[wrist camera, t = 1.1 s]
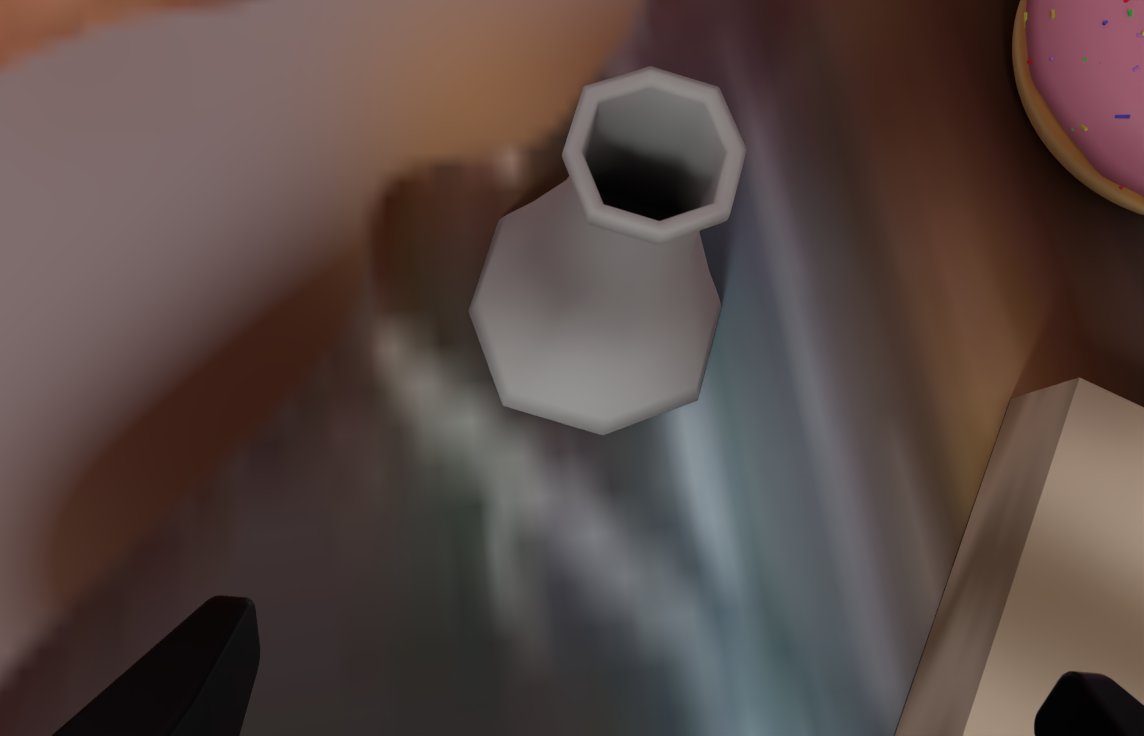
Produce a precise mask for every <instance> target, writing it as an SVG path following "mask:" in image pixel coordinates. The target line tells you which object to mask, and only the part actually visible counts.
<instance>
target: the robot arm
mask: <svg viewBox="0 0 1144 736" xmlns="http://www.w3.org/2000/svg"><path fill="white" fill-rule="evenodd" d="M259 660H260V643H259V634H258V626H257V617H256V609H255V605H254V603H253V601H252V600H251V599H249V598H246V597H235V596H224V595H217V596H214V597H211V598H210V599H208V600H207V601H205V602H204V603H203V604H202V605H201V606H200V607H199V608H197V609H196V610H195V611H194V612H193V613H192V614H191V615H189V616H188V617H187V618H186V619H185V620H184V621H182V622H181V623H180V624H179V625H178V626H177V627H176V628H174V629H173V630H172V631H171V632H170V633H169V634H167V635H166V636H165V637H164V638H163V639H162V640H161V641H159V642H158V643H157V644H156V645H155V646H154V647H153V648H151V649H150V650H149V651H148V652H147V653H146V654H144V655H143V656H142V657H141V658H140V659H139V660H138V661H136V662H135V663H134V664H133V665H132V666H131V667H129V668H128V669H127V670H126V671H125V672H124V673H123V674H121V675H120V676H119V677H118V678H117V679H116V680H115V681H113V682H112V683H111V684H110V685H109V686H108V687H106V688H105V689H104V690H103V691H102V692H101V693H100V694H98V695H97V696H96V697H95V698H94V699H93V700H92V701H90V702H89V703H88V704H87V705H86V706H85V707H83V708H82V709H81V710H80V711H79V712H78V713H77V714H75V715H74V716H73V717H72V718H71V719H70V720H68V721H67V722H66V723H65V724H64V725H63V726H62V727H60V728H59V729H58V730H57V731H56V732H55V733H54V734H52V735H51V736H239V735H240V731H241V728H242V724H243V720H244V717H245V713H246V710H247V706H248V703H249V699H250V696H251V692H252V688H253V685H254V681H255V678H256V674H257V670H258V666H259ZM1034 734H1035V736H1144V705H1143V704H1142V703H1141V702H1139V701H1138V700H1137V699H1136V698H1135V697H1133V696H1132V695H1131V694H1130V693H1128V692H1127V691H1126V690H1125V689H1124V688H1122V687H1121V686H1120V685H1119V684H1118V683H1116V682H1115V681H1114V680H1112V679H1111V678H1110V677H1108V676H1106V675H1103V674H1099V673H1091V672H1080V671H1068V672H1066V673H1064V674H1063V675H1062V676H1061V677H1060V678H1059V680H1058V681H1057V683H1056V684H1055V686H1054V687H1053V689H1052V690H1051V692H1050V693H1049V695H1048V696H1047V698H1046V699H1045V701H1044V702H1043V704H1042V705H1041V707H1040V709H1039V710H1038V712H1037V714H1036V716H1035V720H1034Z"/></svg>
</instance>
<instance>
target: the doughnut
mask: <svg viewBox="0 0 1144 736" xmlns="http://www.w3.org/2000/svg"><path fill="white" fill-rule="evenodd" d="M1012 60H1013V69H1014V76H1015V81H1016V85H1017V89H1018V92H1019V96H1020V99H1021V101H1022V104H1023V107H1024V109H1025V112H1026V114H1027V116H1028V118H1029V120H1030V122H1031V124H1032V126H1033V127H1034V129H1035V131H1036V133H1037V134H1038V136H1039V137H1040V139H1041V140H1042V142H1043V143H1044V144H1045V146H1046V147H1047V148H1048V150H1049V151H1050V152H1051V153H1052V155H1053V156H1054V157H1055V158H1056V159H1057V160H1058V161H1059V163H1060V164H1061V165H1062V166H1063V167H1064V168H1065V169H1066V170H1067V171H1069V172H1070V173H1071V174H1072V175H1073V176H1074V177H1075V178H1077V179H1078V180H1079V181H1080V182H1081V183H1083V184H1084V185H1085V186H1087V187H1088V188H1090V189H1091V190H1093V191H1094V192H1096V193H1097V194H1099V195H1100V196H1102V197H1104V198H1105V199H1107V200H1109V201H1111V202H1113V203H1115V204H1117V205H1119V206H1121V207H1123V208H1125V209H1128V210H1130V211H1133V212H1136V213H1138V214H1141V215H1144V0H1020V2H1019V6H1018V9H1017V13H1016V17H1015V22H1014V28H1013V37H1012Z"/></svg>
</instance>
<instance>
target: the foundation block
mask: <svg viewBox="0 0 1144 736" xmlns="http://www.w3.org/2000/svg"><path fill="white" fill-rule="evenodd" d="M1068 671H1080V672H1091V673H1099V674H1103V675H1106V676H1108V677H1110V678H1111V679H1112V680H1114V681H1115V682H1116V683H1118V684H1119V685H1120V686H1121V687H1122V688H1124V689H1125V690H1126V691H1127V692H1128V693H1130V694H1131V695H1132V696H1133V697H1135V698H1136V699H1137V700H1138V701H1139V702H1141V703H1142V704H1143V705H1144V407H1141V406H1139V405H1137V404H1135V403H1133V402H1131V401H1129V400H1127V399H1124V398H1122V397H1120V396H1118V395H1116V394H1114V393H1112V392H1109V391H1107V390H1105V389H1103V388H1101V387H1099V386H1097V385H1095V384H1092V383H1090V382H1088V381H1086V380H1084V379H1082V378H1080V377H1079V378H1076V379H1073V380H1070V381H1066V382H1063V383H1060V384H1056V385H1053V386H1050V387H1046V388H1043V389H1040V390H1037V391H1033V392H1030V393H1027V394H1023V395H1020V396H1017V397H1014V398H1011V400H1010V402H1009V405H1008V408H1007V411H1006V414H1005V417H1004V420H1003V423H1002V426H1001V429H1000V431H999V434H998V437H997V440H996V443H995V446H994V449H993V452H992V455H991V458H990V460H989V463H988V466H987V469H986V472H985V475H984V478H983V481H982V484H981V487H980V490H979V492H978V495H977V498H976V501H975V504H974V507H973V510H972V513H971V516H970V519H969V521H968V524H967V527H966V530H965V533H964V536H963V539H962V542H961V545H960V548H959V550H958V553H957V556H956V559H955V562H954V565H953V568H952V571H951V574H950V577H949V579H948V582H947V585H946V588H945V591H944V594H943V597H942V600H941V603H940V606H939V608H938V611H937V614H936V617H935V620H934V623H933V626H932V629H931V632H930V635H929V637H928V640H927V643H926V646H925V649H924V652H923V655H922V658H921V661H920V664H919V666H918V669H917V672H916V675H915V678H914V681H913V684H912V687H911V690H910V693H909V695H908V698H907V701H906V704H905V707H904V710H903V713H902V716H901V719H900V722H899V724H898V727H897V730H896V733H895V736H1035V734H1034V720H1035V716H1036V714H1037V712H1038V710H1039V709H1040V707H1041V705H1042V704H1043V702H1044V701H1045V699H1046V698H1047V696H1048V695H1049V693H1050V692H1051V690H1052V689H1053V687H1054V686H1055V684H1056V683H1057V681H1058V680H1059V678H1060V677H1061V676H1062V675H1063V674H1064V673H1066V672H1068Z"/></svg>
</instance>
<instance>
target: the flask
mask: <svg viewBox="0 0 1144 736" xmlns="http://www.w3.org/2000/svg"><path fill="white" fill-rule="evenodd" d="M746 152H747V148H746V146H745V144H744V142H743V139H742V137H741V135H740V133H739V131H738V128H737V126H736V124H735V122H734V119H733V117H732V115H731V113H730V110H729V108H728V106H727V104H726V101H725V99H724V97H723V95H722V92H721V90H720V88H719V87H718V86H714V85H711V84H708V83H704V82H701V81H698V80H695V79H691V78H688V77H685V76H681V75H678V74H675V73H672V72H668V71H665V70H662V69H658V68H655V67H652V66H649V67H646V68H642V69H639V70H636V71H632V72H629V73H626V74H623V75H619V76H616V77H613V78H609V79H606V80H603V81H600V82H596V83H593V84H590V85H586V86H584V87H583V90H582V93H581V96H580V99H579V102H578V106H577V109H576V112H575V115H574V118H573V121H572V124H571V128H570V131H569V134H568V137H567V140H566V143H565V146H564V150H563V153H562V158H563V161H564V164H565V166H566V169H567V171H568V174H569V177H568V178H567V180H566V181H564V182H563V183H561V184H560V185H558V186H557V187H555V188H553V189H552V190H550V191H549V192H547V193H546V194H544V195H543V196H541V197H540V198H538V199H536V200H535V201H533V202H531V203H529V204H527V205H525V206H523V207H521V208H519V209H517V210H515V211H513V212H511V213H509V214H507V215H506V216H504V217H502V218H501V219H499V220H498V223H497V226H496V229H495V232H494V235H493V238H492V241H491V244H490V247H489V250H488V253H487V256H486V259H485V262H484V265H483V268H482V271H481V274H480V277H479V280H478V283H477V286H476V290H475V293H474V296H473V299H472V302H471V305H470V308H469V311H468V312H469V314H470V317H471V320H472V323H473V325H474V328H475V331H476V333H477V336H478V339H479V342H480V344H481V347H482V350H483V353H484V355H485V358H486V361H487V363H488V366H489V369H490V372H491V374H492V377H493V380H494V383H495V385H496V388H497V391H498V393H499V396H500V399H501V402H502V404H503V406H506V407H509V408H512V409H516V410H519V411H522V412H526V413H529V414H533V415H536V416H539V417H543V418H546V419H549V420H553V421H556V422H559V423H563V424H566V425H569V426H573V427H576V428H580V429H583V430H586V431H590V432H593V433H596V434H600V435H605V434H608V433H611V432H613V431H616V430H619V429H621V428H624V427H627V426H629V425H632V424H635V423H638V422H640V421H643V420H646V419H648V418H651V417H654V416H656V415H659V414H662V413H665V412H667V411H670V410H673V409H675V408H678V407H681V406H683V405H686V404H689V403H692V402H694V401H697V400H698V396H699V392H700V388H701V384H702V380H703V377H704V373H705V369H706V365H707V361H708V357H709V353H710V349H711V345H712V342H713V338H714V334H715V330H716V326H717V322H718V318H719V314H720V310H721V303H720V299H719V296H718V293H717V290H716V288H715V285H714V282H713V280H712V277H711V274H710V271H709V268H708V264H707V260H706V256H705V252H704V248H703V244H702V240H701V236H700V230H703V229H706V228H709V227H712V226H715V225H718V224H721V223H723V222H725V221H727V220H728V218H729V216H730V213H731V209H732V205H733V201H734V198H735V194H736V190H737V186H738V182H739V178H740V175H741V171H742V167H743V163H744V159H745V155H746Z"/></svg>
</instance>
